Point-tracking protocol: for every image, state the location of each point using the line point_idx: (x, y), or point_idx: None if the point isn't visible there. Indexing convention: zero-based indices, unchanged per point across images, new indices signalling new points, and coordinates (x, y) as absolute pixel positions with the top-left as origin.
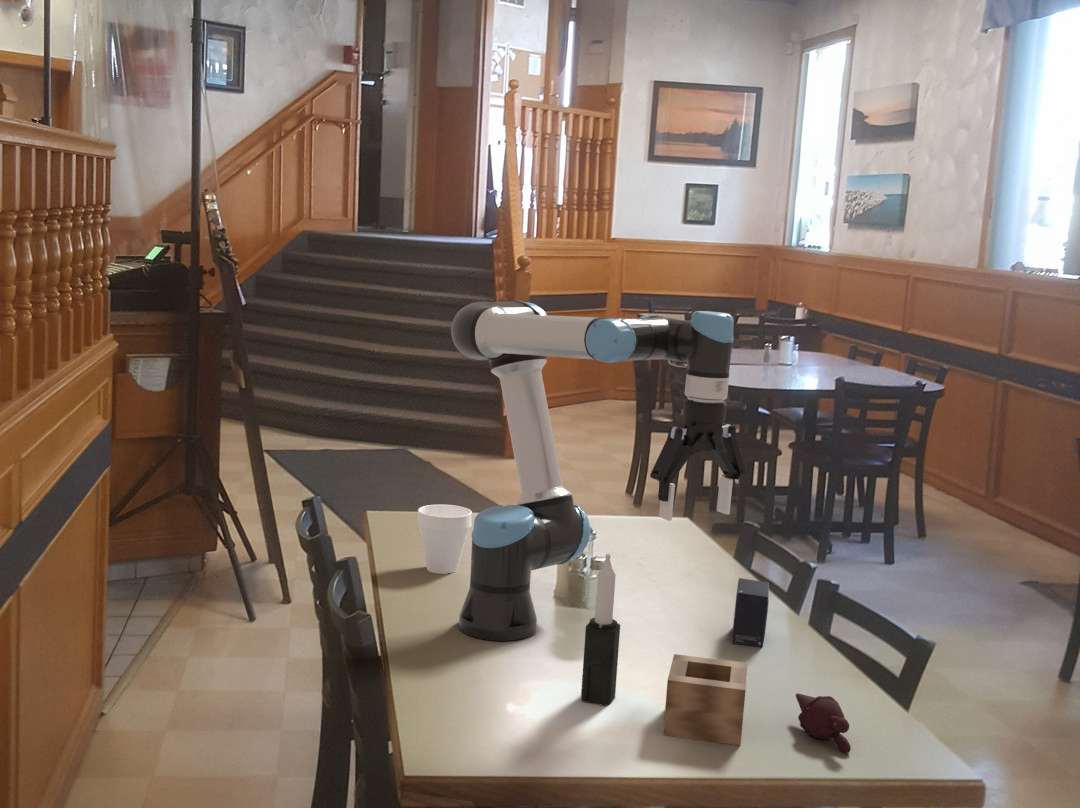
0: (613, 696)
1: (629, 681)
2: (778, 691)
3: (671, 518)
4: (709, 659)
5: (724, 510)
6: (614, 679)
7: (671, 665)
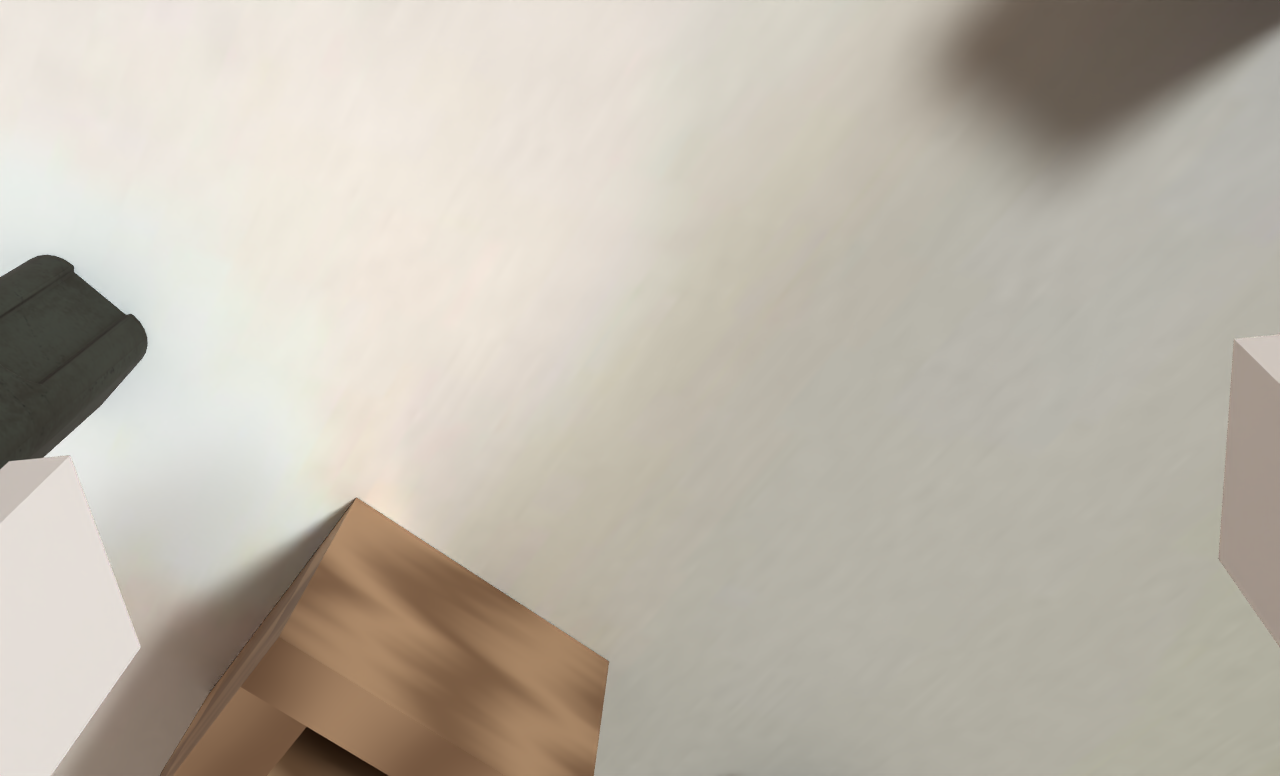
0: (118, 383)
1: (291, 202)
2: (938, 520)
3: (119, 665)
4: (426, 739)
5: (1244, 540)
6: (75, 422)
7: (198, 743)
